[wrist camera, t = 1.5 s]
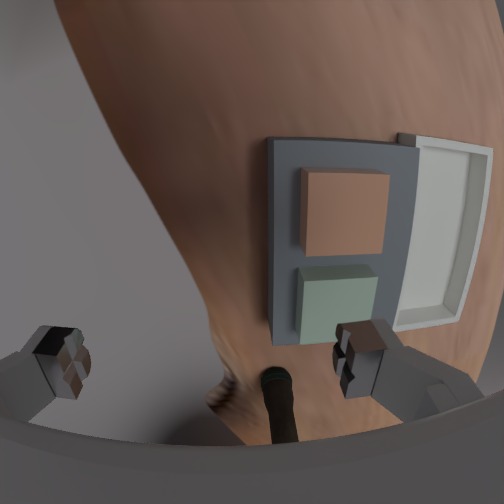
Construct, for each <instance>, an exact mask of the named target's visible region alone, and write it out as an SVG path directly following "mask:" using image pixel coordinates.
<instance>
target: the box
mask: <svg viewBox="0 0 504 504" xmlns="http://www.w3.org/2000/svg"><path fill="white" fill-rule="evenodd" d="M398 143H399V144H404V145H408V146H413V147H417V148H420V156H419V170H418V182H417V192H416V202H415V210H414V218H413V226H412V233H411V239H410V246H409V252H408V258H407V263H406V269H405V274H404V279H403V284H402V289H401V294H400V298H399V303H398V307H397V312H396V316H395V320H394V324H393V328H392V330H393V331H394V332H398V331H405V330H411V329H418V328H424V327H430V326H436V325H442V324H447V323H453V322H458V321H459V318H460V315H461V312H462V309H463V306H464V303H465V299H466V296H467V293H468V289H469V286H470V282H471V278H472V275H473V271H474V267H475V263H476V259H477V254H478V250H479V246H480V241H481V236H482V231H483V226H484V220H485V214H486V208H487V202H488V195H489V187H490V179H491V170H492V159H493V148H489V147H484V146H480V145H475V144H470V143H465V142H459V141H453V140H447V139H441V138H435V137H428V136H421V135H413V134H405V133H398Z"/></svg>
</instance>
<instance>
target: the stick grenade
mask: <svg viewBox="0 0 504 504" xmlns="http://www.w3.org/2000/svg"><path fill="white" fill-rule="evenodd" d="M261 388H262V391H263V395H264V403H265V406H266V408H267V411H268V413H269V422H270V431H271V440H272V444H282V443H293V442H299V440H298V435H297V429H296V424H295V418H294V413H293V401H294V398H293V392H292V379H291V376H290V374H289V373H288V372H287V371H286V370H285V369H282V368H271V369H269V370H267V371H266V372H265V373H264V374H263V376H262V378H261Z"/></svg>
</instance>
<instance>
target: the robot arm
mask: <svg viewBox="0 0 504 504" xmlns="http://www.w3.org/2000/svg"><path fill="white" fill-rule="evenodd" d="M335 336H336V338H337V340H338V341H337V343H336V344H335V345H334V346H333V353H332V358H333V367H334V370H335V373H336V375H338V376H339V377H341V379H340V387H341V389H342V392H343V395H344V397H345V399H350V398H357V397H364V396H371V397H372V398H373V399H375V400H376V401H377V402H378V403H380V404H381V405H382V406H384V407H385V408H386V409H387V410H389V411H390V412H391V413H393V414H394V415H395V416H396V417H398V418H399V419H400V420H402V421H403V422H404V423H402V424H398V425H394V426H389V427H385V428H380V429H376V430H371V431H366V432H361V433H356V434H350V435H345V436H339V437H333V438H326V439H319V440H311V441H302V442H293V443H282V444H269V445H252V446H179V445H161V444H149V443H138V442H129V441H120V440H112V439H105V438H99V437H93V436H87V435H82V434H76V433H71V432H66V431H62V430H57V429H52V428H48V427H44V426H40V425H36V424H32V423H29V422H28V421H29V420H31V419H32V418H33V417H34V416H35V415H36V414H38V413H39V412H40V411H41V410H42V409H43V408H45V407H46V406H47V405H48V404H49V403H51V402H52V401H53V400H54V399H55V397H59V398H67V399H74V400H76V399H77V398H78V395H79V394H80V391H81V389H82V387H83V385H82V382H81V381H82V380H83V379H85V378H87V377H88V374H89V372H90V368H91V359H90V355H89V352H88V350H87V349H86V348H85V347H84V346H83V345H82V344H83V341H84V337H83V335H82V332H81V330H79V329H78V328H68V327H56V326H54V327H53V326H40V327H39V328H38V329H37V331H36V332H35V333H34V334H33V335H32V337H31V338H30V339H29V340H28V342H27V343H26V344H25V345H24V347H23V348H22V349H21V351H20V352H14V353H12V354H11V355H9V356H7V357H5V358H3V359H1V360H0V504H504V389H503V390H501V391H498V392H496V393H494V394H491V395H489V396H486V397H485V396H484V395H483V394H482V392H481V391H480V390H479V388H478V387H477V386H476V384H475V383H474V381H473V380H472V379H471V378H470V376H469V375H468V374H467V373H465V372H462V371H460V370H458V369H456V368H454V367H452V366H450V365H448V364H445V363H443V362H441V361H439V360H437V359H435V358H433V357H431V356H429V355H426V354H424V353H422V352H420V351H418V350H416V349H414V348H412V347H410V346H405V347H404V345H403V344H402V342H401V341H400V340H399V338H398V337H397V335H396V334H395V332H394V331H393V330H392V328H391V327H390V325H389V324H388V322H387V321H386V320H385V319H384V318H376V319H369V320H364V321H355V322H346V323H338V324H337V327H336V332H335Z"/></svg>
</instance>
